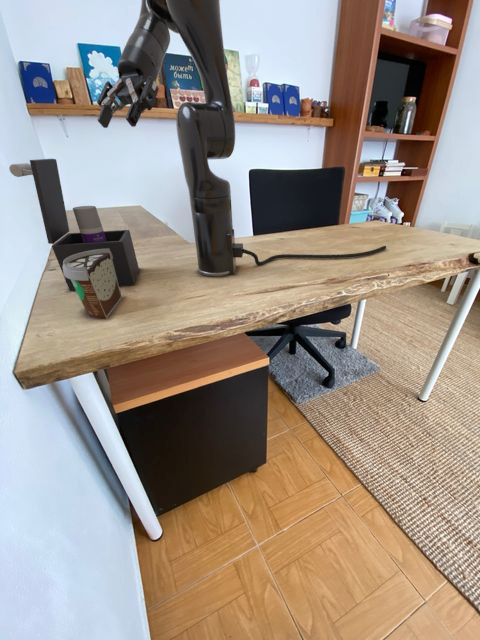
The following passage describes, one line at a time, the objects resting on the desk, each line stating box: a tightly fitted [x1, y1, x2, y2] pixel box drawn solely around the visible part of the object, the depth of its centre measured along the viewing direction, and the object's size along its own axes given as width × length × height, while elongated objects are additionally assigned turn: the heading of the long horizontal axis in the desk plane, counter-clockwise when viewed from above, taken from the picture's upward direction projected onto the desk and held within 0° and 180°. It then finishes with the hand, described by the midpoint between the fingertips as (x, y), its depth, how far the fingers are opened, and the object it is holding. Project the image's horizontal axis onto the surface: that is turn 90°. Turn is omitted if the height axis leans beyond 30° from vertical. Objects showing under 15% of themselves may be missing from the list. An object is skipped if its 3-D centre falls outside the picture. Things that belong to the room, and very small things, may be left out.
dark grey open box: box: [51, 229, 140, 292], centre depth 68 cm, size 14×12×10 cm
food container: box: [62, 249, 123, 320], centre depth 55 cm, size 12×6×10 cm, turn 5°
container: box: [72, 205, 107, 243], centre depth 67 cm, size 5×5×15 cm
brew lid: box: [8, 158, 70, 245], centre depth 60 cm, size 14×12×5 cm
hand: (115, 123), depth 64 cm, fingers open, 8 cm apart
